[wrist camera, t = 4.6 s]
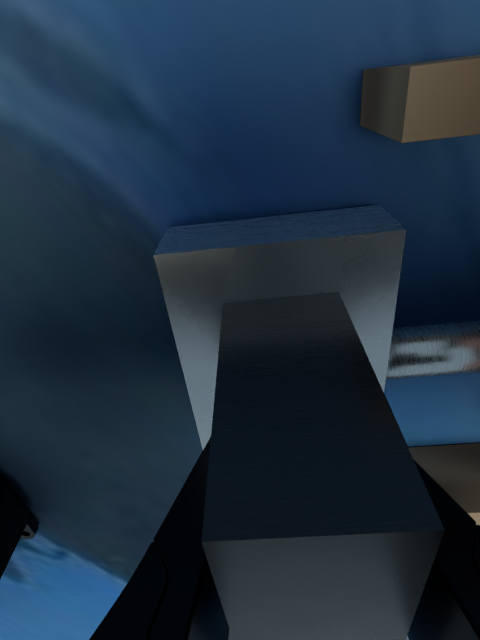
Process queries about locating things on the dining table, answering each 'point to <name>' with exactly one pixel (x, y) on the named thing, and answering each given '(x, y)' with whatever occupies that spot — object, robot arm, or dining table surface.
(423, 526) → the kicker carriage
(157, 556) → the robot arm
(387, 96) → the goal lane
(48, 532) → the dining table surface
